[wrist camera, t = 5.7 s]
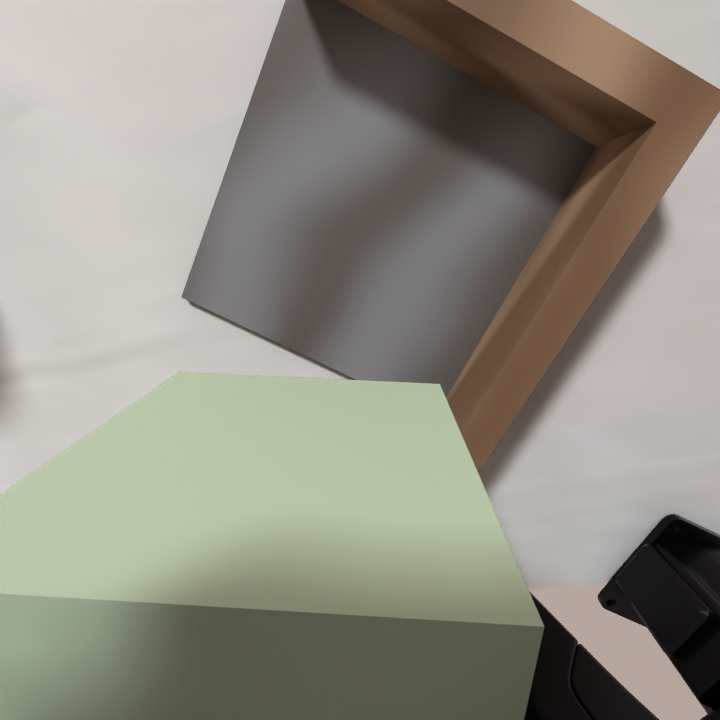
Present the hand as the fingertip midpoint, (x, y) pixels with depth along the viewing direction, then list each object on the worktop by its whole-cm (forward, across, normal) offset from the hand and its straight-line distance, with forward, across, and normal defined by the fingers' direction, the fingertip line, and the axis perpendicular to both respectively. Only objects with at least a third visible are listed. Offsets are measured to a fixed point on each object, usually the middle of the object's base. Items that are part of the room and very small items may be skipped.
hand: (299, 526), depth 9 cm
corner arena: (+11, -2, -7) cm, 13 cm away
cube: (+1, 0, 0) cm, 1 cm away
